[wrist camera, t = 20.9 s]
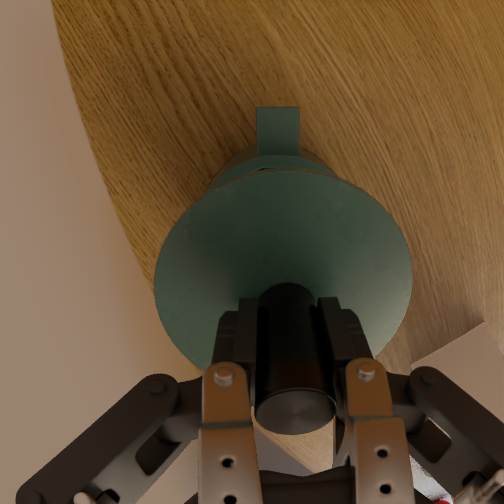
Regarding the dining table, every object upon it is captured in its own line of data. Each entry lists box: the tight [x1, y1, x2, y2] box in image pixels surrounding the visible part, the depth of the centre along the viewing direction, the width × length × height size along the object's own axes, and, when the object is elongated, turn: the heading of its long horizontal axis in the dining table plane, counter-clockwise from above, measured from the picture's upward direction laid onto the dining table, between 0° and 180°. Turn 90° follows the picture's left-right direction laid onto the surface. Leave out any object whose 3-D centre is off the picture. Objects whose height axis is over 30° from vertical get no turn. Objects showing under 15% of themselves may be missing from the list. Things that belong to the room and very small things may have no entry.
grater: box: [410, 321, 504, 439], centre depth 24 cm, size 10×10×20 cm
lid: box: [154, 168, 413, 435], centre depth 11 cm, size 11×11×7 cm
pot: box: [202, 107, 338, 196], centre depth 22 cm, size 10×16×6 cm, turn 1°
